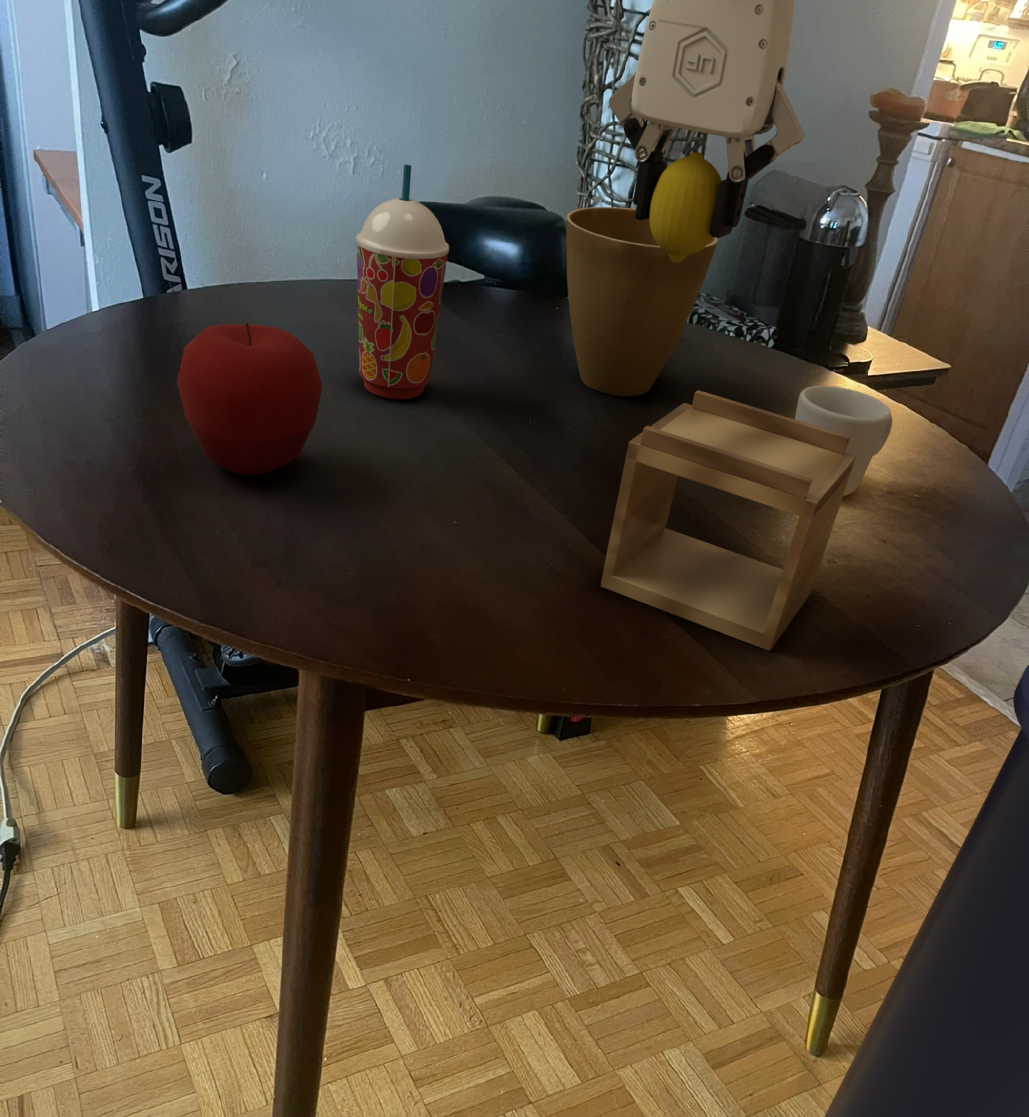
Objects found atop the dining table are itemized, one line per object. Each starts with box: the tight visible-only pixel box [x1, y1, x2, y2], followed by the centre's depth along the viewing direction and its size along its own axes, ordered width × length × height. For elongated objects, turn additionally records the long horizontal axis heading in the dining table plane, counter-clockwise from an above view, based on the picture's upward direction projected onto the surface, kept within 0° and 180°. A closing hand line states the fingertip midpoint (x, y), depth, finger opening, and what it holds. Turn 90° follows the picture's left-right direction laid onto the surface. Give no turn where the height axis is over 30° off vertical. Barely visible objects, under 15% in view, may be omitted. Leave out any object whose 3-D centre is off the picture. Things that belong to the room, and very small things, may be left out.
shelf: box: [600, 390, 856, 652], centre depth 75 cm, size 13×10×12 cm
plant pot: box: [565, 206, 719, 397], centre depth 108 cm, size 15×15×16 cm
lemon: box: [649, 151, 723, 263], centre depth 82 cm, size 6×6×8 cm
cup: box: [794, 385, 894, 497], centre depth 96 cm, size 11×8×8 cm
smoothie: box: [355, 163, 450, 400], centre depth 98 cm, size 8×8×20 cm
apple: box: [176, 320, 323, 476], centre depth 83 cm, size 11×11×12 cm
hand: (683, 223), depth 83 cm, fingers closed on lemon, 5 cm apart
